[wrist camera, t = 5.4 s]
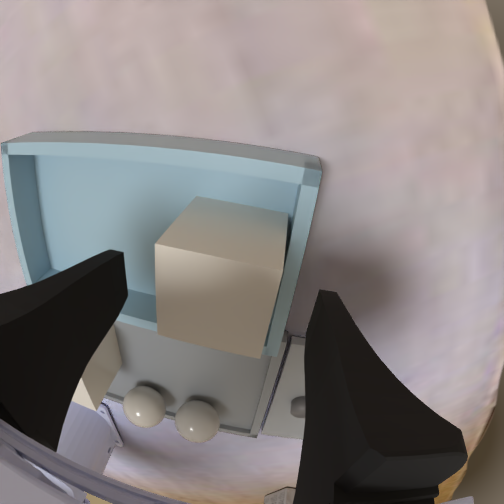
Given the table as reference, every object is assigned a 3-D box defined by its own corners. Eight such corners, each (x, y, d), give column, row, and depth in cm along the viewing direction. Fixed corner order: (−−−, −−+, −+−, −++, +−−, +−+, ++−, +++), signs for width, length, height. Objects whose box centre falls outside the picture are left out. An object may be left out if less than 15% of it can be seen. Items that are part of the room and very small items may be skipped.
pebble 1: (172, 407, 22) (160, 440, 19) (135, 395, 22) (121, 426, 19) (170, 384, 20) (155, 420, 18) (129, 372, 21) (112, 405, 18)
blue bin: (280, 323, 17) (276, 356, 15) (50, 269, 18) (28, 290, 16) (317, 156, 12) (322, 171, 10) (32, 132, 13) (0, 143, 11)
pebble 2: (222, 419, 22) (214, 453, 19) (182, 409, 22) (171, 442, 19) (225, 397, 20) (215, 435, 17) (180, 387, 20) (167, 423, 18)
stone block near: (270, 289, 15) (260, 358, 11) (190, 272, 15) (157, 334, 12) (288, 213, 13) (283, 270, 9) (196, 195, 13) (154, 243, 10)
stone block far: (122, 363, 20) (96, 411, 16) (77, 347, 20) (48, 390, 17) (113, 323, 18) (80, 374, 14) (65, 307, 18) (29, 351, 15)
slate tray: (309, 435, 23) (308, 449, 21) (82, 379, 24) (75, 391, 22) (360, 342, 17) (363, 359, 16) (47, 274, 18) (35, 286, 17)
